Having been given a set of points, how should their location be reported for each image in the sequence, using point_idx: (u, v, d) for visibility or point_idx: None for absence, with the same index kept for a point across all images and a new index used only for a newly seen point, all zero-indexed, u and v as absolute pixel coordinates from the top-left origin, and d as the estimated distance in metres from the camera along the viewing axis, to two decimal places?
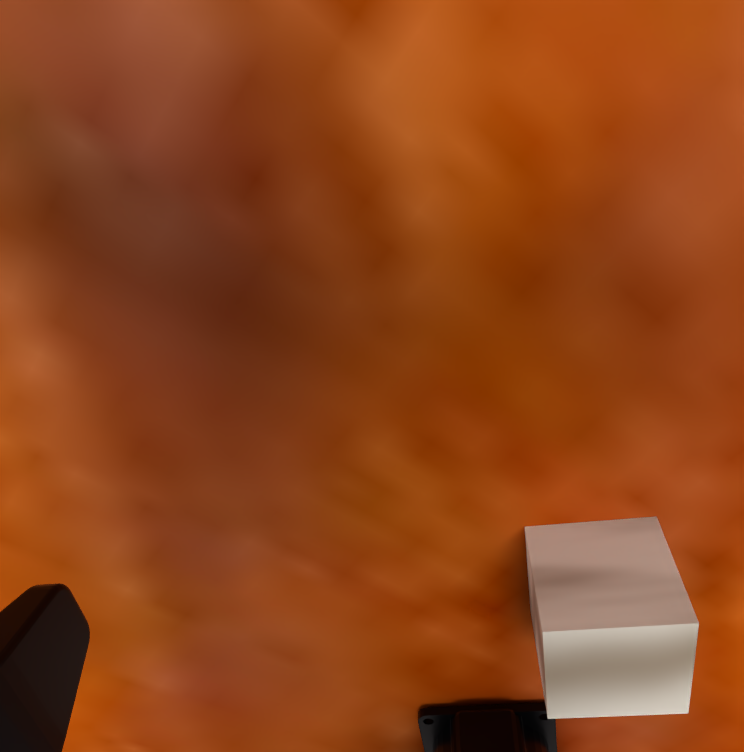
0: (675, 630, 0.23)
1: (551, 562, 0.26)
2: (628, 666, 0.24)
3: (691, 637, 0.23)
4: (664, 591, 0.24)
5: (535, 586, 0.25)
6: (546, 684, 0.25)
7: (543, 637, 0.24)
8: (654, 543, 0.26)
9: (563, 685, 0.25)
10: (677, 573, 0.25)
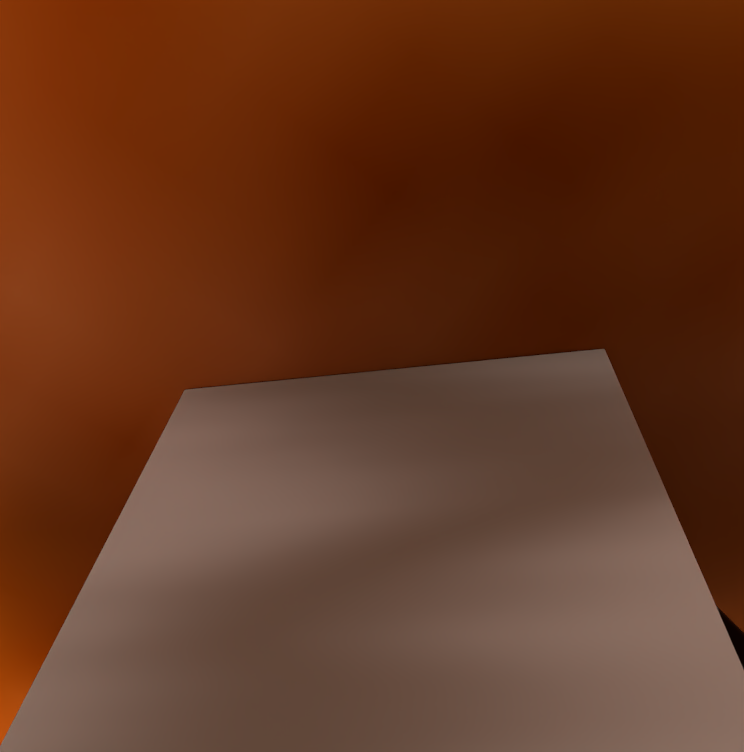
0: None
1: None
2: None
3: None
4: None
5: None
6: None
7: None
8: None
9: None
10: (93, 574, 0.06)
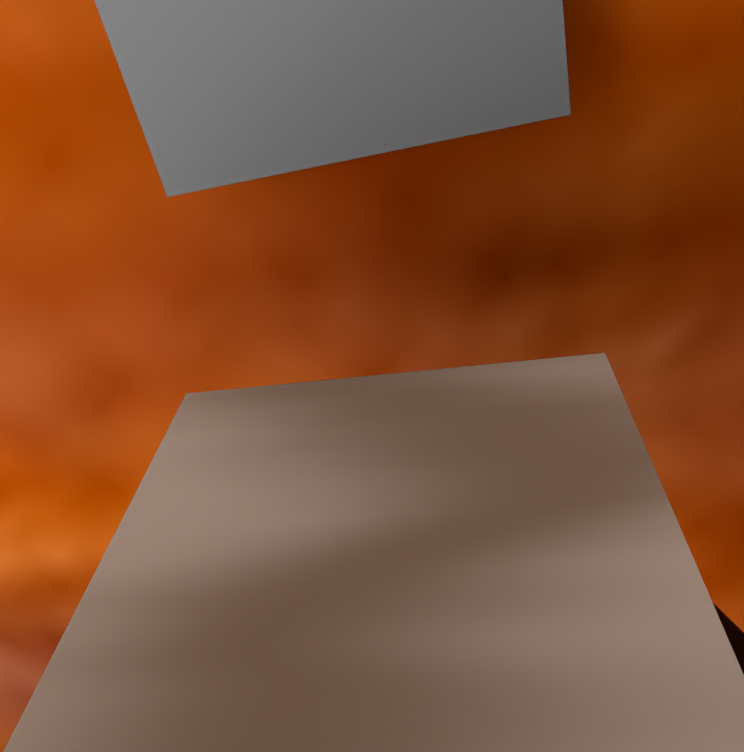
0: None
1: None
2: None
3: None
4: None
5: None
6: None
7: None
8: None
9: None
10: (96, 579, 0.06)
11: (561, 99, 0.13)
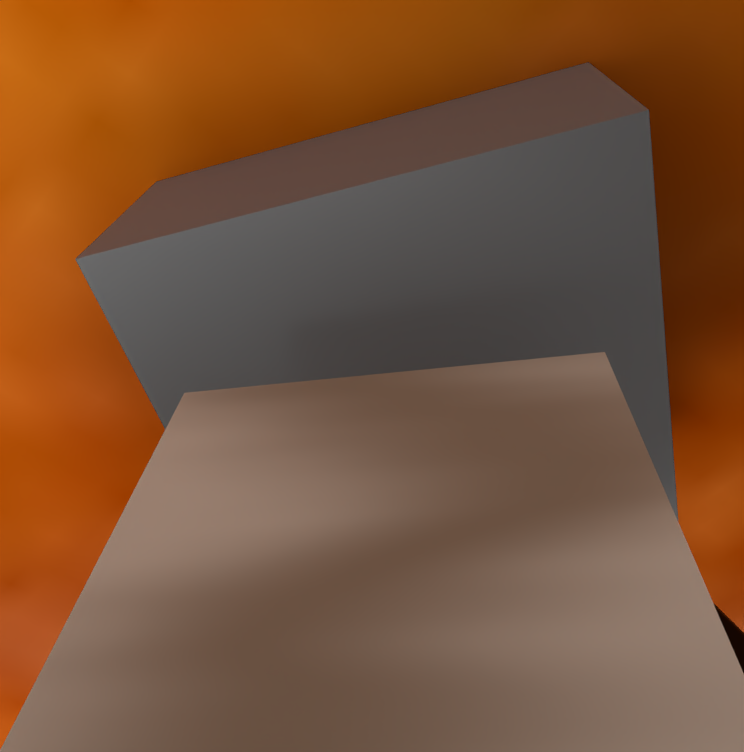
0: None
1: None
2: None
3: None
4: None
5: None
6: None
7: None
8: None
9: None
10: (93, 579, 0.06)
11: None
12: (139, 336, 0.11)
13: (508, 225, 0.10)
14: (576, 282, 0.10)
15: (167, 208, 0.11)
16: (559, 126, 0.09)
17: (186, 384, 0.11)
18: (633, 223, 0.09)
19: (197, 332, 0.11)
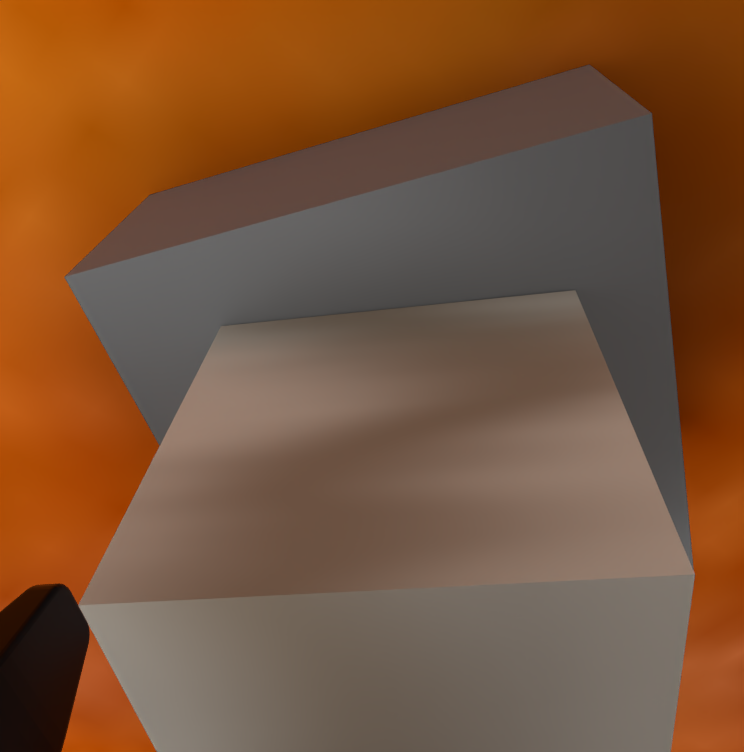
0: (138, 657, 0.06)
1: None
2: (357, 744, 0.07)
3: (164, 615, 0.06)
4: None
5: None
6: None
7: None
8: None
9: None
10: (159, 454, 0.08)
11: None
12: (132, 354, 0.11)
13: (507, 235, 0.09)
14: (579, 292, 0.10)
15: (159, 222, 0.11)
16: (558, 131, 0.09)
17: (181, 402, 0.11)
18: (638, 230, 0.09)
19: (191, 349, 0.10)
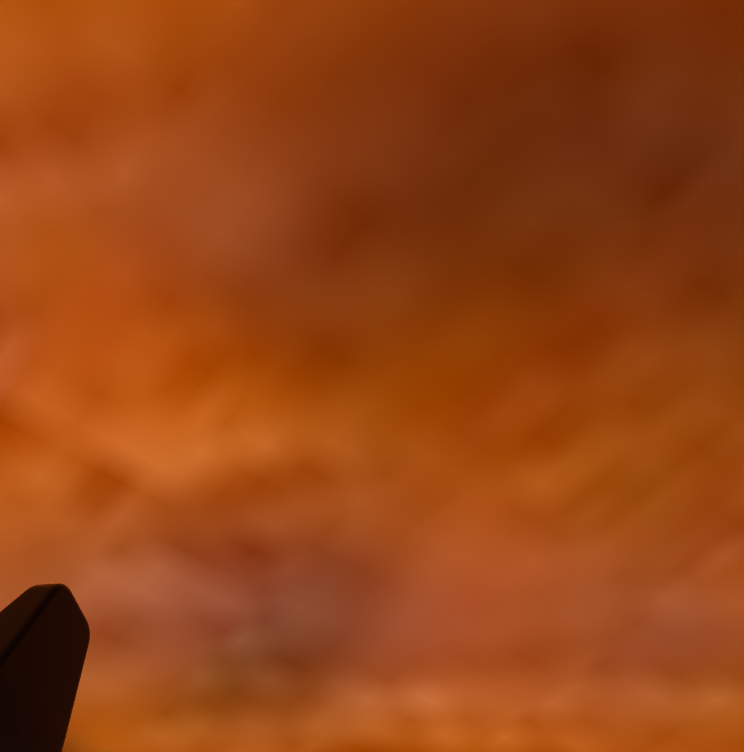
0: None
1: None
2: None
3: None
4: None
5: None
6: None
7: None
8: None
9: None
10: None
11: None
12: None
13: None
14: None
15: None
16: None
17: None
18: None
19: None
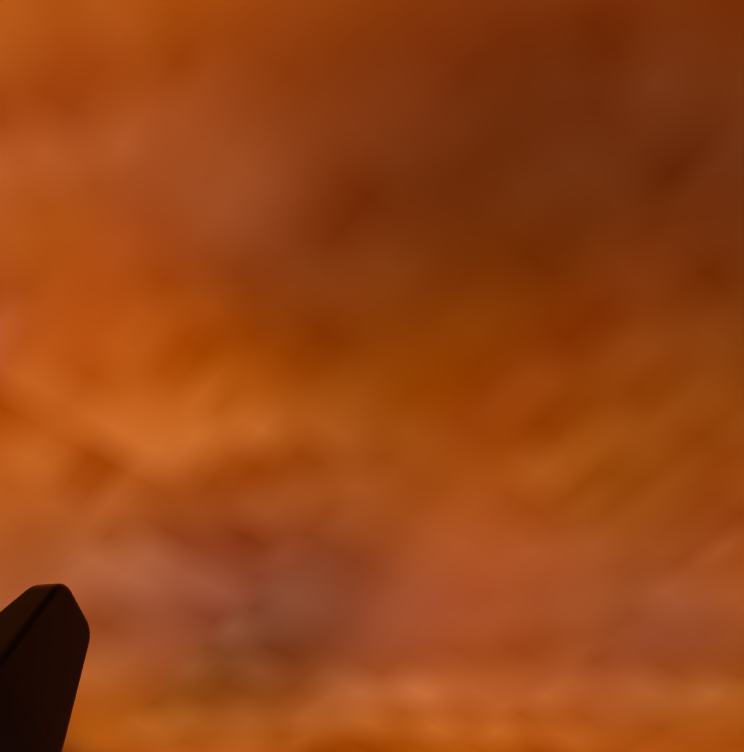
0: None
1: None
2: None
3: None
4: None
5: None
6: None
7: None
8: None
9: None
10: None
11: None
12: None
13: None
14: None
15: None
16: None
17: None
18: None
19: None
